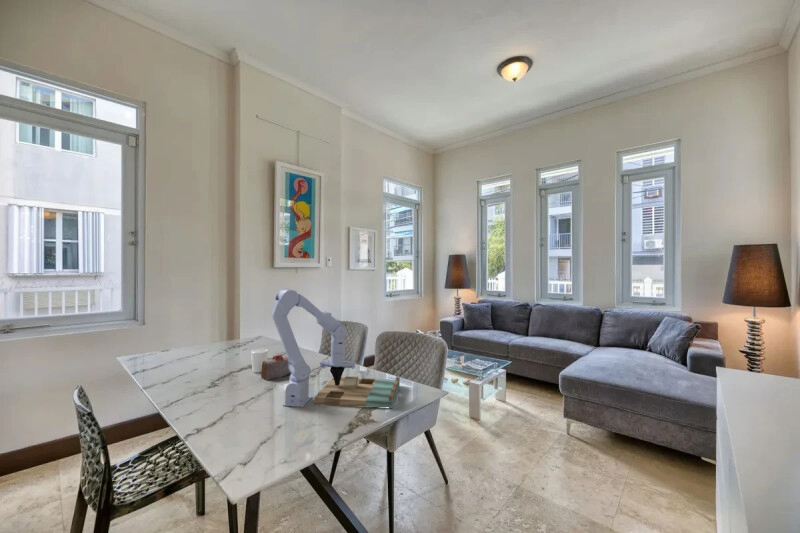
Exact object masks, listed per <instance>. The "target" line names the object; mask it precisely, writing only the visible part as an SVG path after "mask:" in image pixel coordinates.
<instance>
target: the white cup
mask: <svg viewBox="0 0 800 533" xmlns="http://www.w3.org/2000/svg"><path fill="white" fill-rule="evenodd" d="M250 356H251V357H250V358H251V372H252V373H255V374H256V373H257V374H259V373H261V372H262V363H263V361H265V360H269V359H268V358H269V349H267V348H257V349H252V350H251V351H250Z"/></svg>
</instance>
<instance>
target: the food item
mask: <svg viewBox="0 0 800 533" xmlns="http://www.w3.org/2000/svg"><path fill="white" fill-rule="evenodd" d="M288 366H289V362H288V356H287V355H285V356H282V355H273V357H272V358H270V359H268V360H265V361H263V363H262V372H260V373H261V375H260V377H261V379H263V380H265V381H269V380H274V379H276V378H278V379H279V378H280V379H281V378H282V377H283V378H284V376H288V375H291V372H290V371H289V368H288Z"/></svg>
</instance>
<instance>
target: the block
mask: <svg viewBox="0 0 800 533" xmlns="http://www.w3.org/2000/svg"><path fill="white" fill-rule="evenodd" d="M344 377H345V378H344V379H343V390H356V388H357V387H358V378H359V375H358V376H356V375H346V376H344Z"/></svg>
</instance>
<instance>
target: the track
mask: <svg viewBox="0 0 800 533" xmlns="http://www.w3.org/2000/svg"><path fill="white" fill-rule="evenodd" d="M345 377H346V376H341V380H340V384H339V385H338V386H337V385H335V381H334V378H333V377H332V378H331V379H330V380H329V381H328V383H326V384H325V386H324V387H322V389H321V390H320V391H319V392H318V393H317V394H316V395H315V396H314V397H313V400H314V401H313V403H314V405H321V404H326V405H325V406H337V405H345V406H344V407H352V406H371V407H372V406H373V407H389V408H392V409H393V407H392V406H394V404H395V401H396V398H397V395H398V391H399V389H400V385H401V384H400V383H401V382H400V375H396V377H395V379H386V378H385V379H384V378H369V377H368V378H367V377H366V378H364V377H358V387H357V388H356V390H343V379H344V378H345ZM395 397H396V398H395ZM394 400H395V401H394ZM393 403H394V404H393ZM346 405H348V406H346Z"/></svg>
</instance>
